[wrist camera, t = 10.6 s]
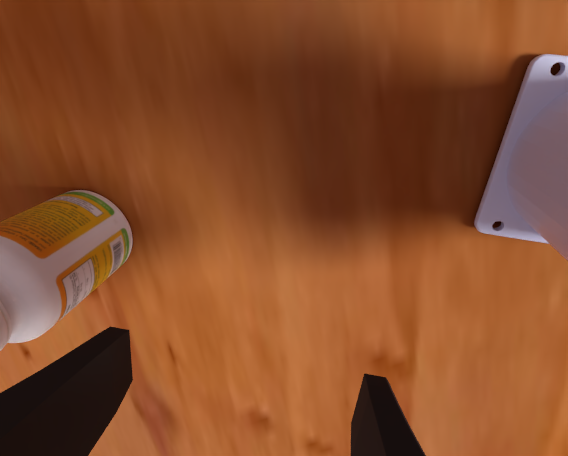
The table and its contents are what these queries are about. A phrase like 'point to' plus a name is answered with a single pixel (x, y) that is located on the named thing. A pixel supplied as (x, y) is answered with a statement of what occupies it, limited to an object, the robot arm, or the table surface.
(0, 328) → the supplement bottle
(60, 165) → the table surface
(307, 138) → the table surface
